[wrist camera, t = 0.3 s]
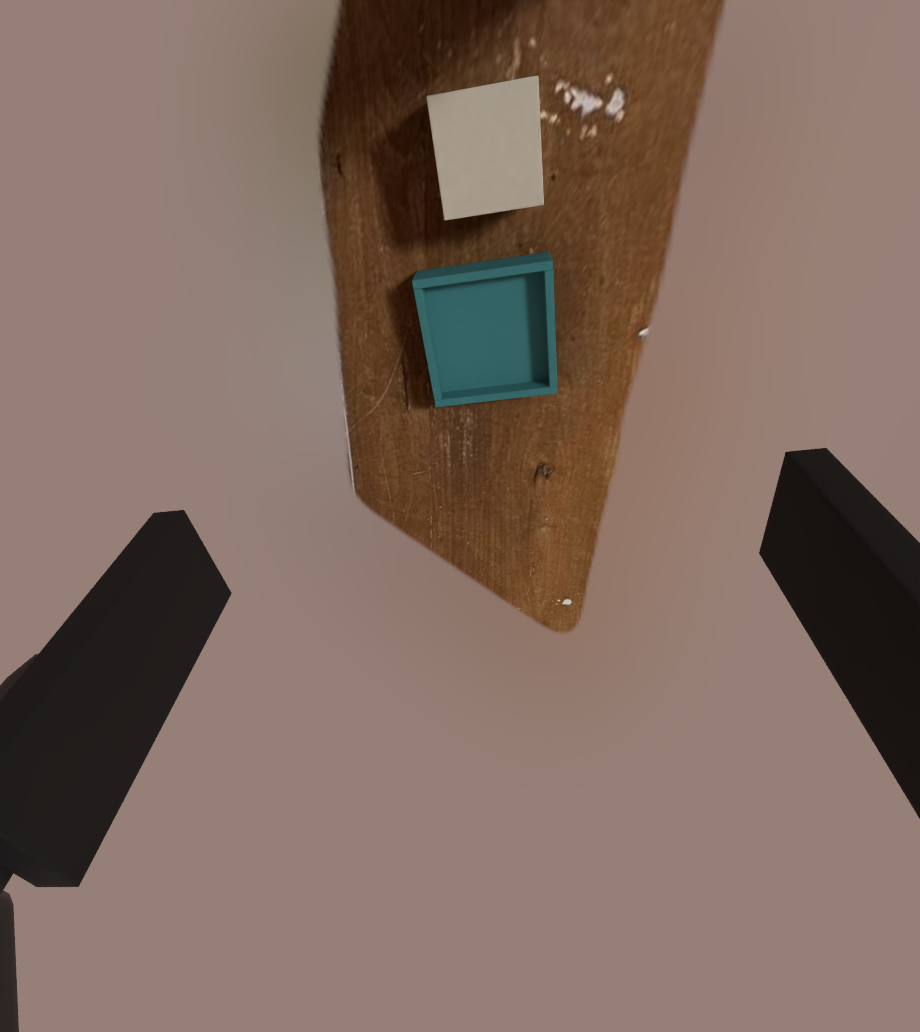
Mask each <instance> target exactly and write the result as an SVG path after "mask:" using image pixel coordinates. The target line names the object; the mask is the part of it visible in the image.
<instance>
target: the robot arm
mask: <svg viewBox="0 0 920 1032" xmlns="http://www.w3.org/2000/svg"><path fill="white" fill-rule="evenodd" d="M759 554H760V556H761V557H762V559H763V561H764V562H765V564H766V565H767V567H768V569H769V570H770V572H771V574H772V575H773V577H774V579H775V580H776V582H777V584H778V585H779V587H780V589H781V590H782V592H783V594H784V595H785V597H786V599H787V600H788V602H789V603H790V605H791V607H792V608H793V610H794V612H795V613H796V615H797V617H798V618H799V620H800V622H801V623H802V625H803V627H804V628H805V630H806V632H807V633H808V635H809V637H810V638H811V640H812V641H813V643H814V645H815V646H816V648H817V650H818V651H819V653H820V655H821V656H822V658H823V660H824V661H825V663H826V665H827V666H828V668H829V669H830V671H831V673H832V675H833V676H834V678H835V680H836V681H837V683H838V684H839V686H840V688H841V689H842V691H843V693H844V694H845V696H846V698H847V699H848V701H849V703H850V704H851V706H852V708H853V709H854V710H855V712H856V714H857V716H858V718H859V719H860V721H861V723H862V724H863V726H864V727H865V729H866V731H867V732H868V734H869V736H870V737H871V739H872V741H873V742H874V744H875V746H876V747H877V749H878V751H879V752H880V754H881V756H882V757H883V759H884V760H885V762H886V764H887V765H888V767H889V769H890V770H891V772H892V774H893V775H894V777H895V779H896V780H897V782H898V784H899V785H900V787H901V789H902V790H903V792H904V793H905V795H906V797H907V799H908V800H909V801H910V803H911V805H912V807H913V808H914V810H915V812H916V813H917V815H918V817H919V818H920V543H919V542H918V541H917V540H916V539H915V538H914V537H913V536H912V535H911V534H910V533H909V532H908V531H907V530H906V529H905V528H904V527H903V525H902V524H900V522H899V521H898V520H896V519H895V517H894V516H893V515H892V514H891V513H890V512H889V511H888V510H887V509H886V508H885V507H884V506H883V505H882V504H881V503H880V502H879V501H878V500H877V499H876V498H875V497H874V496H873V495H872V494H871V493H870V492H869V491H868V490H867V489H866V488H865V487H864V486H863V485H862V484H861V483H860V482H859V481H858V480H857V479H856V478H855V477H854V476H853V475H852V474H851V473H850V472H849V471H848V470H847V469H846V468H845V467H844V466H843V465H842V464H841V463H840V462H839V461H838V459H836V458H835V457H834V455H833V454H832V453H830V451H829V450H828V449H827V448H822V449H811V450H801V451H790V452H786V453H785V457H784V460H783V464H782V468H781V472H780V476H779V479H778V483H777V487H776V491H775V495H774V499H773V502H772V506H771V510H770V514H769V518H768V521H767V525H766V529H765V533H764V537H763V540H762V544H761V548H760V552H759ZM230 595H231V591H230V590H229V588H228V586H227V584H226V583H225V581H224V579H223V577H222V576H221V574H220V572H219V570H218V569H217V567H216V565H215V564H214V562H213V560H212V558H211V557H210V555H209V553H208V551H207V549H206V548H205V546H204V544H203V542H202V541H201V539H200V537H199V535H198V534H197V532H196V530H195V528H194V527H193V525H192V523H191V521H190V520H189V518H188V516H187V514H186V513H185V511H184V510H179V511H169V512H160V513H153V514H152V516H151V517H150V518H149V519H148V521H147V522H146V523H145V524H144V525H143V527H142V528H141V529H140V530H139V531H138V533H137V534H136V535H135V537H134V538H133V539H132V540H131V541H130V543H129V544H128V545H127V547H125V549H124V550H123V551H122V553H121V554H120V555H119V556H118V557H117V559H116V560H115V561H114V562H113V563H112V565H111V566H110V567H109V568H108V570H107V571H106V572H105V573H104V575H103V576H102V577H101V578H100V579H99V581H98V582H97V583H96V585H94V587H93V588H92V589H91V590H90V592H89V593H88V594H87V595H86V597H85V598H84V599H83V600H82V601H81V603H80V604H79V605H78V606H77V608H76V609H75V610H74V611H73V613H72V614H71V615H70V616H69V617H68V619H67V620H66V621H65V622H64V624H63V625H62V626H61V627H60V629H59V630H58V631H57V632H56V633H55V635H54V636H53V637H52V638H51V640H50V641H49V642H48V643H47V645H46V646H45V647H44V648H43V649H42V651H41V652H40V653H39V654H37V655H34V656H33V657H32V658H31V659H29V660H28V661H27V662H26V663H24V664H23V665H22V666H21V667H19V668H18V669H17V670H16V671H15V672H13V673H12V674H11V675H10V676H8V677H7V678H6V679H5V681H4V682H3V683H2V684H1V685H0V1032H19V1027H18V1002H17V979H16V957H15V936H14V935H15V934H14V912H13V903H12V900H11V897H10V895H9V893H7V892H5V891H3V889H4V888H5V886H6V885H7V883H8V881H9V880H10V878H11V876H12V874H13V873H14V874H16V875H17V876H19V877H21V878H23V879H24V880H26V881H28V882H29V883H31V884H33V885H34V886H36V887H78V886H79V885H80V883H81V881H82V879H83V877H84V875H85V873H86V871H87V870H88V868H89V866H90V864H91V862H92V860H93V858H94V856H95V854H96V852H97V850H98V849H99V846H100V845H101V843H102V841H103V839H104V837H105V835H106V833H107V831H108V829H109V827H110V825H111V824H112V821H113V820H114V818H115V816H116V814H117V812H118V810H119V808H120V806H121V804H122V802H123V801H124V798H125V796H126V795H127V793H128V791H129V789H130V787H131V785H132V783H133V781H134V779H135V778H136V776H137V774H138V772H139V770H140V768H141V766H142V764H143V762H144V760H145V758H146V756H147V755H148V752H149V751H150V749H151V747H152V745H153V743H154V741H155V739H156V737H157V735H158V733H159V731H160V730H161V728H162V726H163V724H164V722H165V720H166V718H167V716H168V714H169V712H170V710H171V708H172V707H173V705H174V703H175V701H176V699H177V697H178V695H179V693H180V691H181V689H182V687H183V686H184V684H185V682H186V680H187V678H188V676H189V674H190V672H191V670H192V668H193V666H194V664H195V663H196V661H197V659H198V657H199V655H200V653H201V651H202V649H203V647H204V645H205V643H206V641H207V639H208V638H209V636H210V634H211V632H212V630H213V628H214V626H215V624H216V622H217V620H218V618H219V616H220V614H221V613H222V611H223V609H224V607H225V605H226V603H227V601H228V599H229V597H230Z"/></svg>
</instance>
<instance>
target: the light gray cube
mask: <svg viewBox="0 0 920 1032" xmlns="http://www.w3.org/2000/svg"><path fill="white" fill-rule="evenodd" d="M427 104H428V111H429V118H430V125H431V132H432V139H433V146H434V153H435V160H436V167H437V173H438V180H439V187H440V194H441V201H442V208H443V215H444V220H452V219H458V218H464V217H471V216H477V215H483V214H490V213H496V212H502V211H509V210H515V209H521V208H528V207H534V206H540V205H544V197H543V174H542V151H541V127H540V104H539V80H538V76H532V77H527V78H521V79H516V80H511V81H505V82H500V83H495V84H489V85H484V86H479V87H473V88H468V89H463V90H457V91H452V92H446V93H441V94H436V95H430V96H427Z"/></svg>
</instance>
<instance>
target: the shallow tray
mask: <svg viewBox="0 0 920 1032" xmlns="http://www.w3.org/2000/svg"><path fill="white" fill-rule="evenodd" d="M412 285H413V289H414V295H415V301H416V306H417V311H418V316H419V322H420V327H421V332H422V338H423V343H424V348H425V354H426V359H427V364H428V370H429V375H430V380H431V385H432V391H433V396H434V400H435V407H443V406H451V405H460V404H469V403H477V402H486V401H495V400H503V399H512V398H521V397H529V396H538V395H547V394H555V393H557V392H558V391H557V364H556V336H555V308H554V280H553V260H552V258H551V256H550V254H549V252H544V253H538V254H531V255H524V256H517V257H510V258H504V259H497V260H490V261H483V262H476V263H470V264H463V265H456V266H449V267H442V268H436V269H429V270H422V271H417V272H416V273H415V276H414V277H413V280H412Z"/></svg>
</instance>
